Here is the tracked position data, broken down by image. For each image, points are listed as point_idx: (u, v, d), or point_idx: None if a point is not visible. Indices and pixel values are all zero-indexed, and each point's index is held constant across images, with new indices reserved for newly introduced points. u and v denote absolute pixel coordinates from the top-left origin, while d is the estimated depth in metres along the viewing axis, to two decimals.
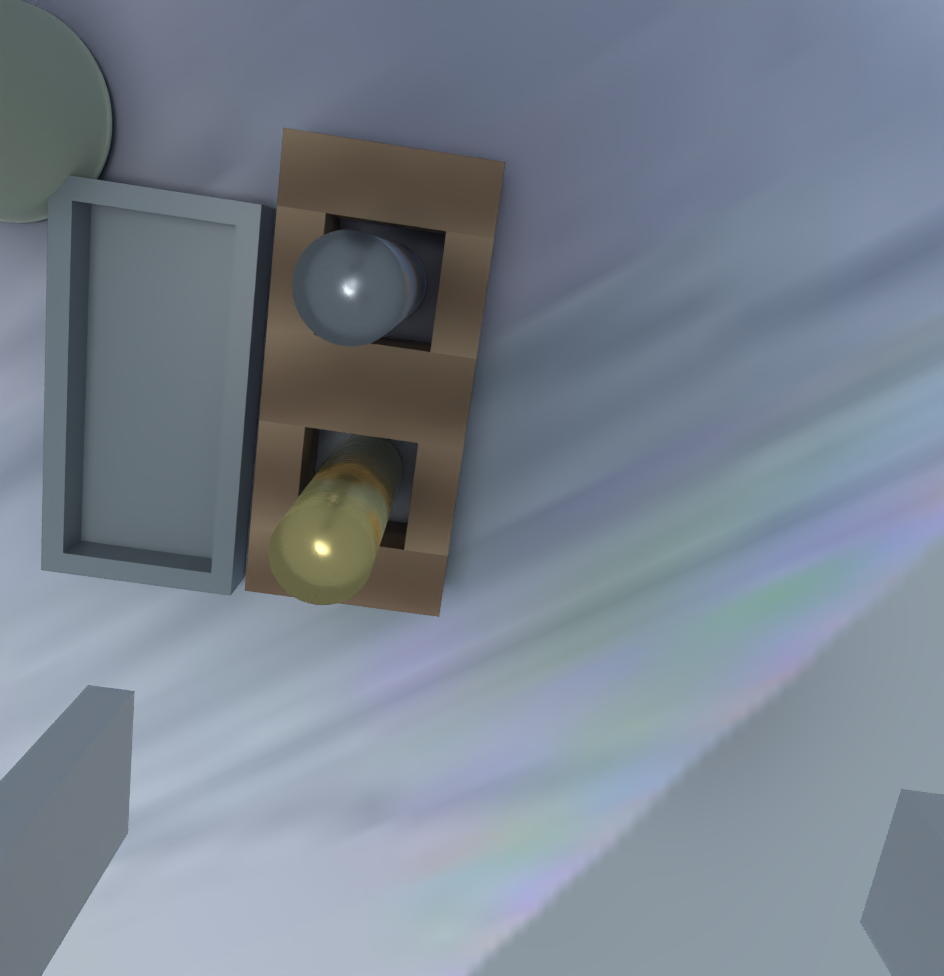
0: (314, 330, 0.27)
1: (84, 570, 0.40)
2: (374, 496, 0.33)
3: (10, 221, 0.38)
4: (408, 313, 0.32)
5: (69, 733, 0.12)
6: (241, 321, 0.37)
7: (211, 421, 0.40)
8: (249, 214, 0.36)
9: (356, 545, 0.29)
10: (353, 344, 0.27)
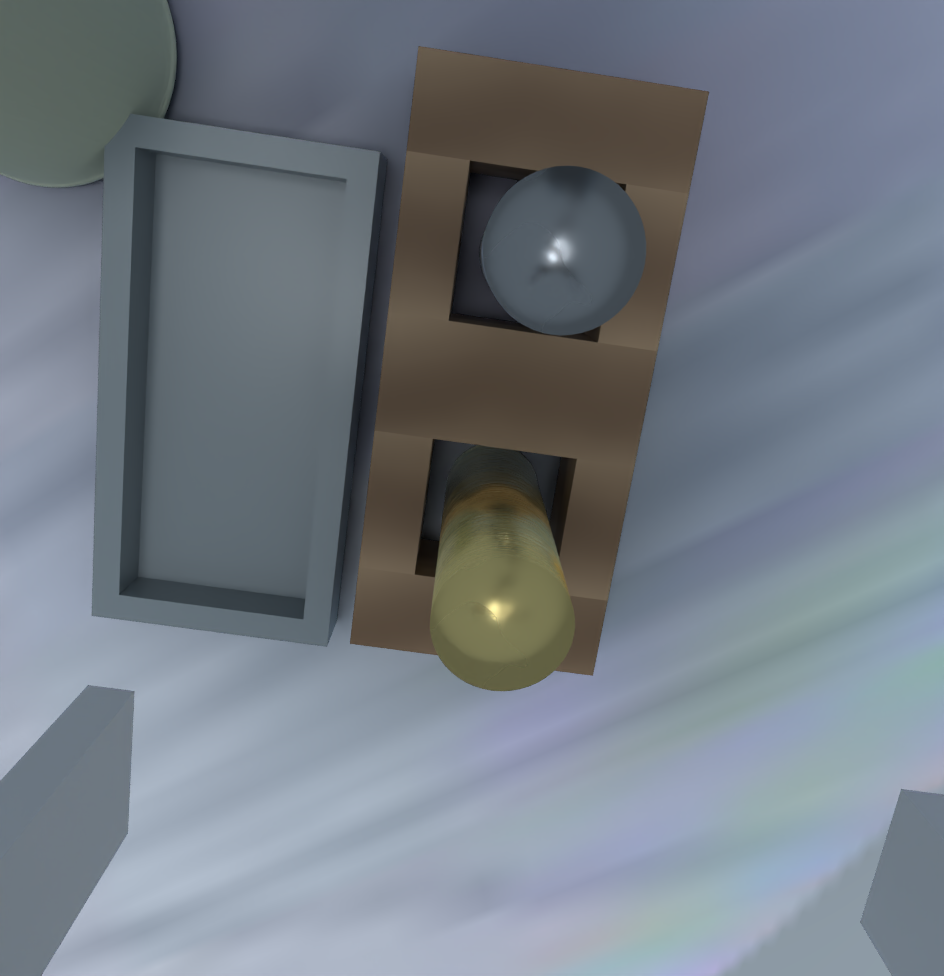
0: (511, 312, 0.19)
1: (145, 616, 0.32)
2: (548, 535, 0.24)
3: (57, 185, 0.30)
4: None
5: (69, 733, 0.12)
6: (349, 303, 0.29)
7: (302, 429, 0.32)
8: (364, 164, 0.28)
9: (552, 611, 0.21)
10: (566, 332, 0.19)
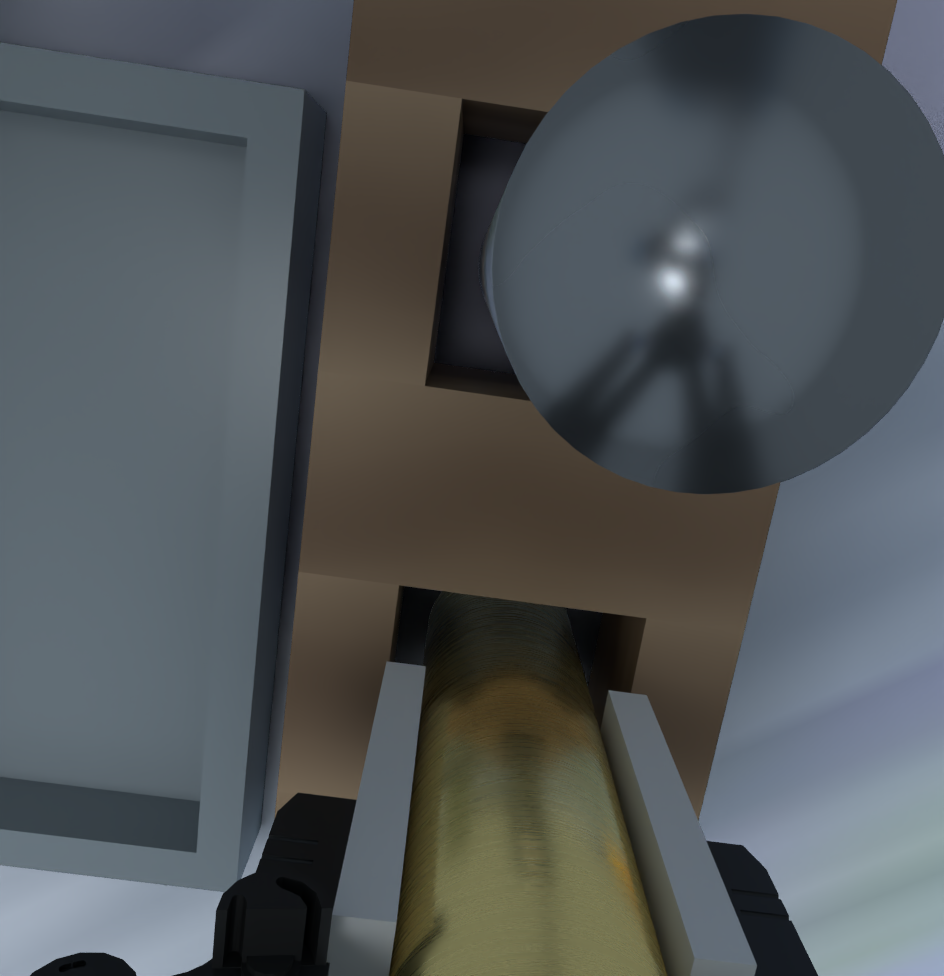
0: (572, 434, 0.07)
1: None
2: (618, 827, 0.12)
3: None
4: None
5: (397, 699, 0.15)
6: (258, 352, 0.17)
7: (196, 548, 0.20)
8: (277, 112, 0.16)
9: None
10: (719, 486, 0.07)
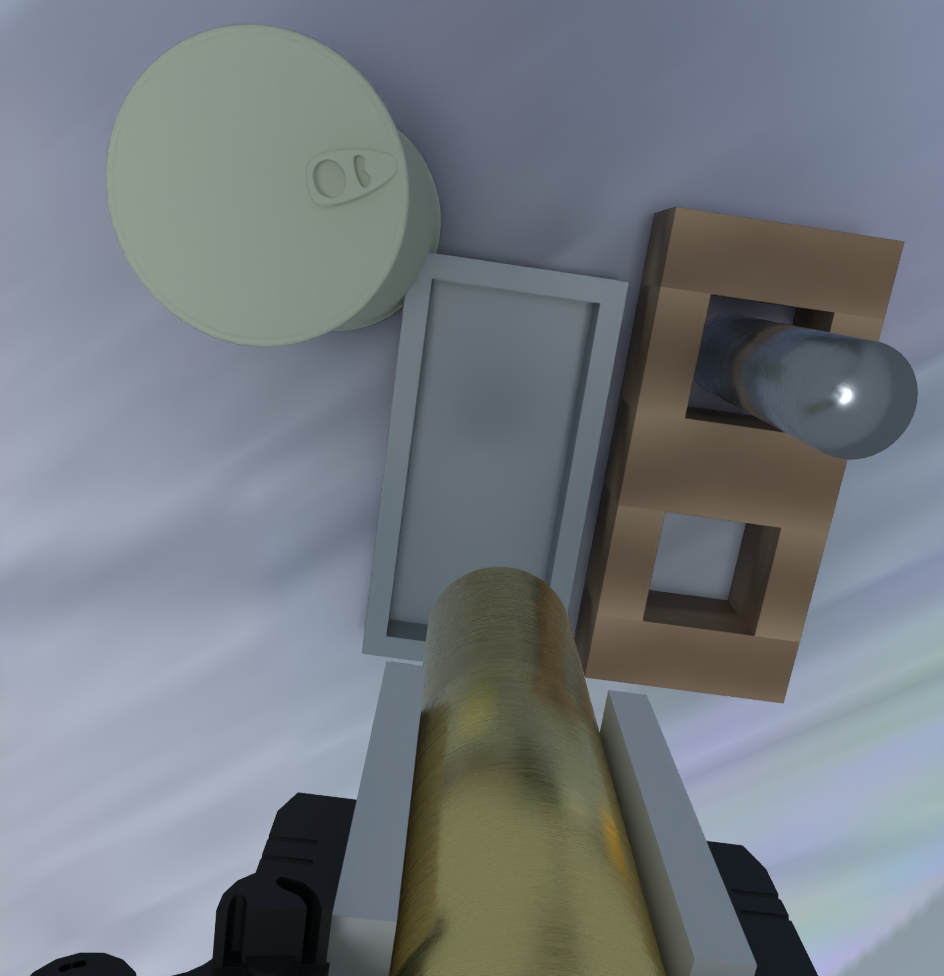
0: (814, 443, 0.26)
1: (406, 653, 0.39)
2: (617, 830, 0.12)
3: (368, 324, 0.37)
4: None
5: (397, 699, 0.15)
6: (595, 401, 0.36)
7: (537, 498, 0.39)
8: (615, 292, 0.35)
9: None
10: (853, 457, 0.26)
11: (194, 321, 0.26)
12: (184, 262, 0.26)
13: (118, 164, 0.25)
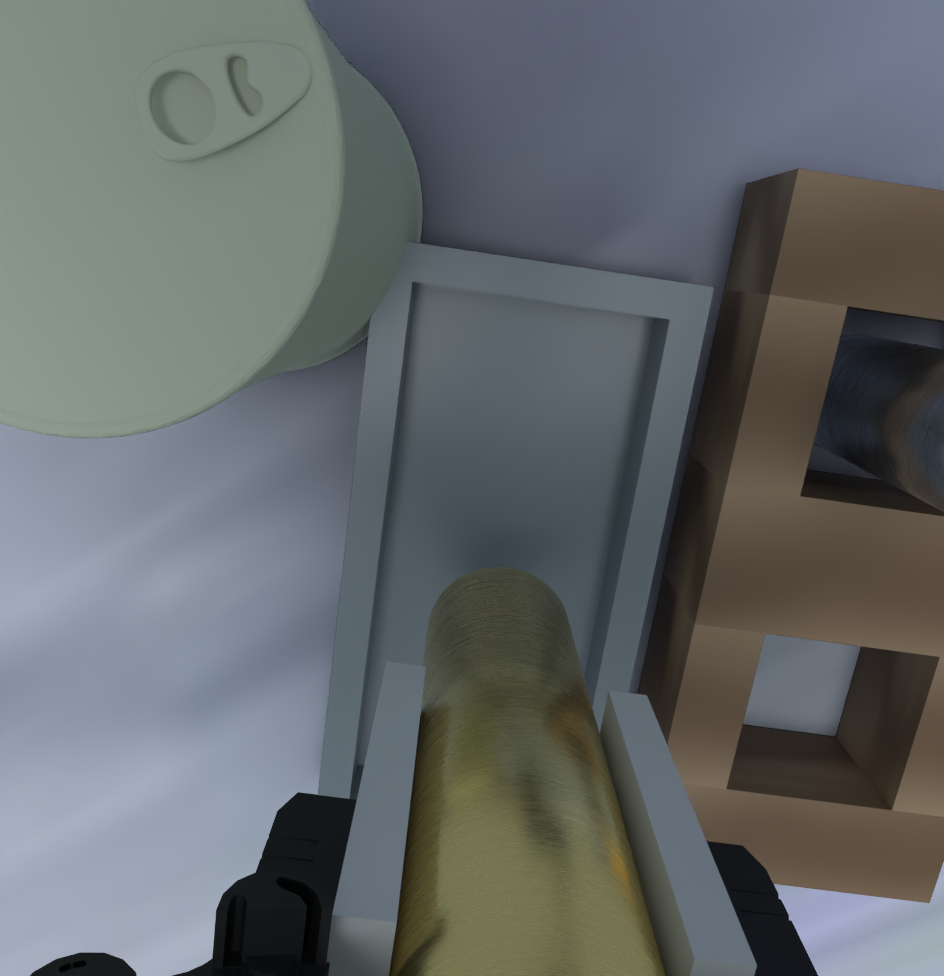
0: None
1: None
2: (617, 831, 0.12)
3: (331, 357, 0.25)
4: None
5: (397, 699, 0.15)
6: (659, 465, 0.24)
7: (567, 599, 0.27)
8: (693, 302, 0.23)
9: None
10: None
11: None
12: None
13: None
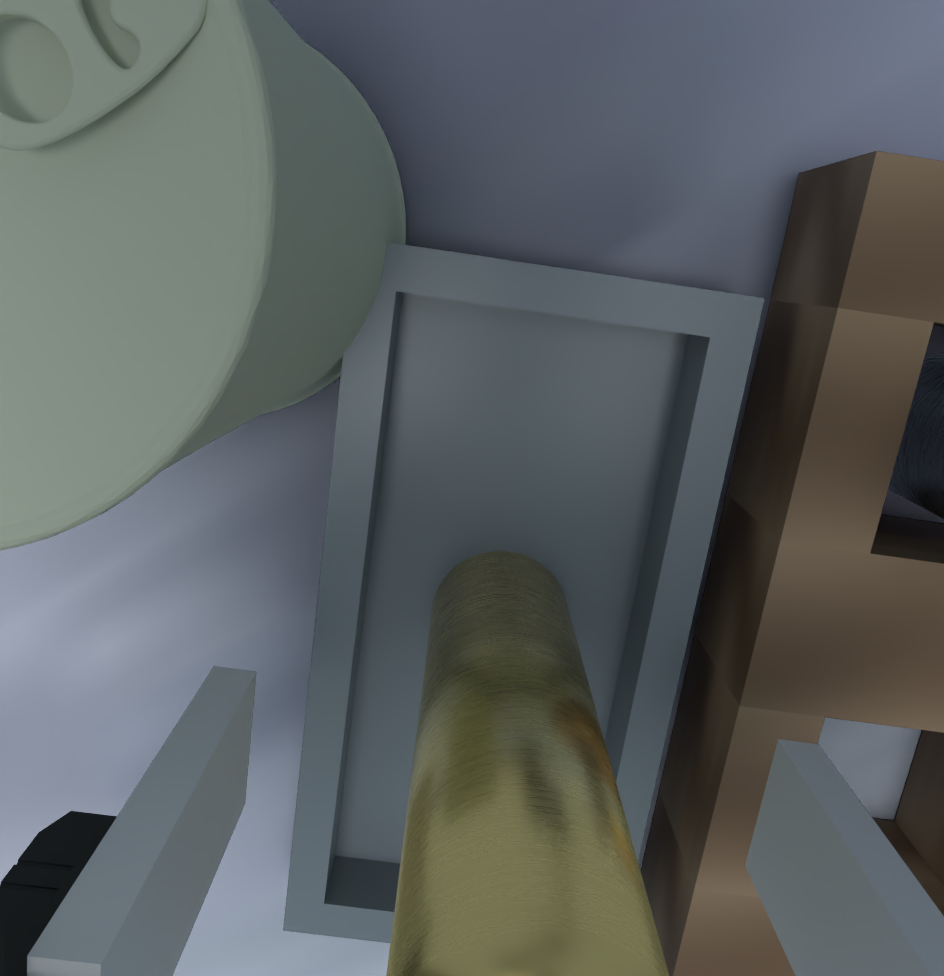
0: None
1: (360, 931, 0.23)
2: (608, 783, 0.13)
3: (317, 390, 0.21)
4: None
5: (209, 707, 0.14)
6: (695, 513, 0.20)
7: None
8: (738, 316, 0.19)
9: None
10: None
11: None
12: None
13: None
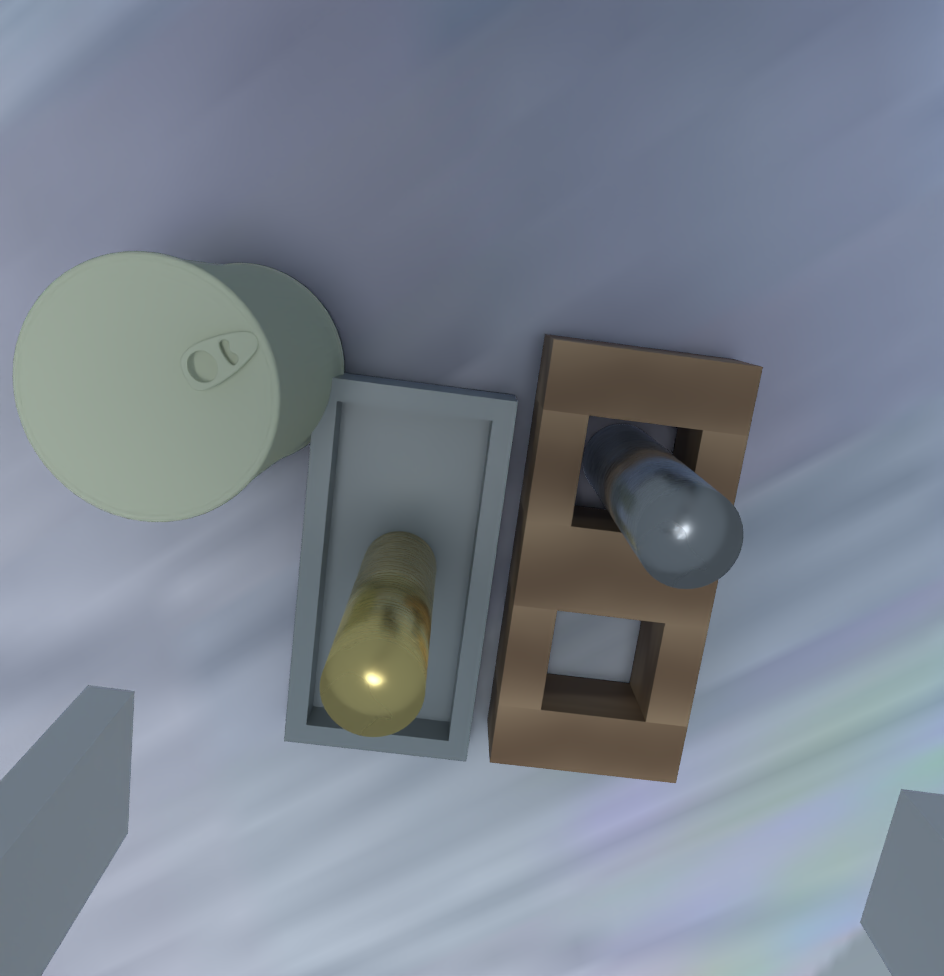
0: (654, 575, 0.29)
1: (326, 740, 0.42)
2: (419, 616, 0.32)
3: (300, 448, 0.40)
4: None
5: (69, 733, 0.12)
6: (492, 508, 0.39)
7: (446, 593, 0.42)
8: (506, 411, 0.38)
9: (408, 678, 0.29)
10: (689, 587, 0.29)
11: (123, 512, 0.29)
12: (101, 464, 0.29)
13: (25, 398, 0.29)
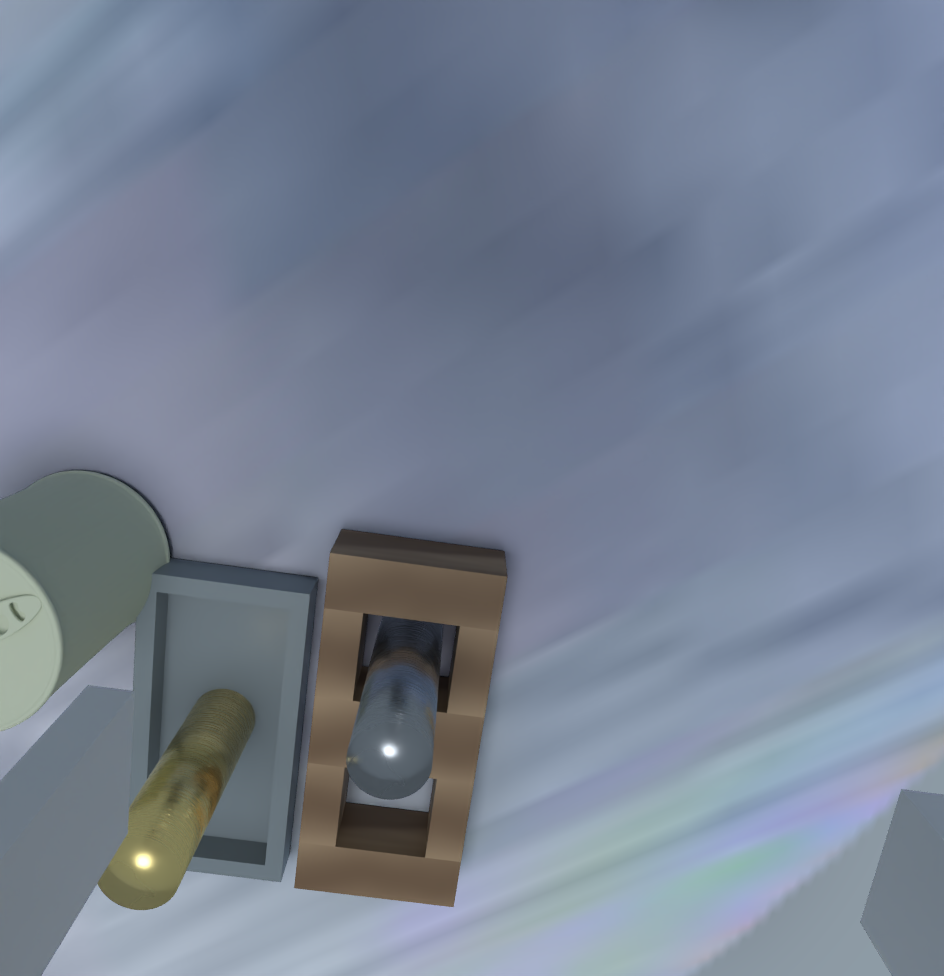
0: (362, 789, 0.36)
1: None
2: (197, 797, 0.39)
3: (135, 621, 0.47)
4: None
5: (69, 732, 0.12)
6: (292, 679, 0.46)
7: (264, 739, 0.49)
8: (300, 601, 0.45)
9: (165, 866, 0.36)
10: (392, 798, 0.36)
11: None
12: None
13: None
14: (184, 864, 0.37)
